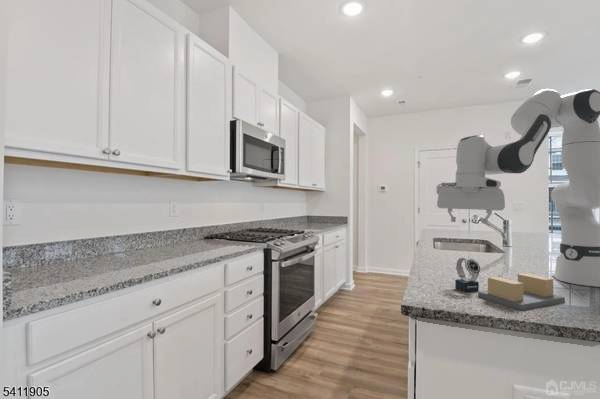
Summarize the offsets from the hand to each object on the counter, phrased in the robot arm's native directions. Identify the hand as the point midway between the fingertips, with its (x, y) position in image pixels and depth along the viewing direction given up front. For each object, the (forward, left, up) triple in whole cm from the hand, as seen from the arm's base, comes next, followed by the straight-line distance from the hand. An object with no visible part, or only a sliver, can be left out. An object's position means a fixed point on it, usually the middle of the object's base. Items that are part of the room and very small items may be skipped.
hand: (468, 222), depth 103 cm
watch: (0, 0, -23) cm, 23 cm away
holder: (-7, +13, -23) cm, 27 cm away
